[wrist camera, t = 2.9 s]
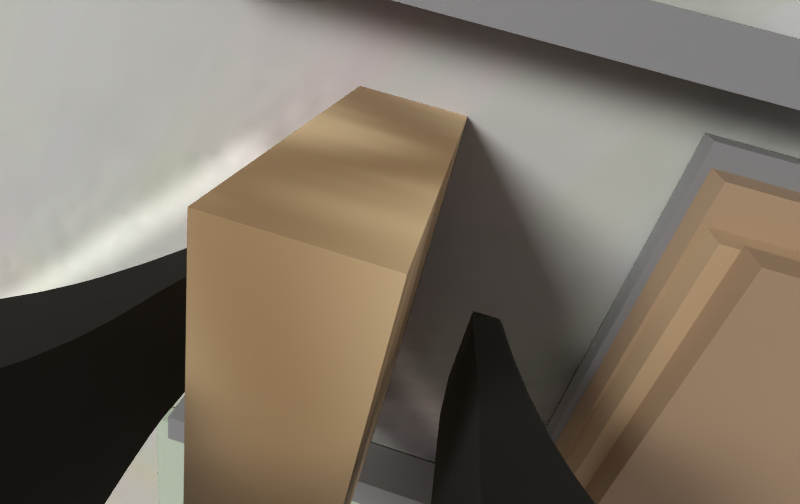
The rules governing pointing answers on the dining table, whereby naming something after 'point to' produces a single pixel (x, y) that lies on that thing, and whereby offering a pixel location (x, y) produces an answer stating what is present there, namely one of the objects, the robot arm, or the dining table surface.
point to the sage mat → (171, 465)
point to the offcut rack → (673, 287)
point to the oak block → (307, 299)
